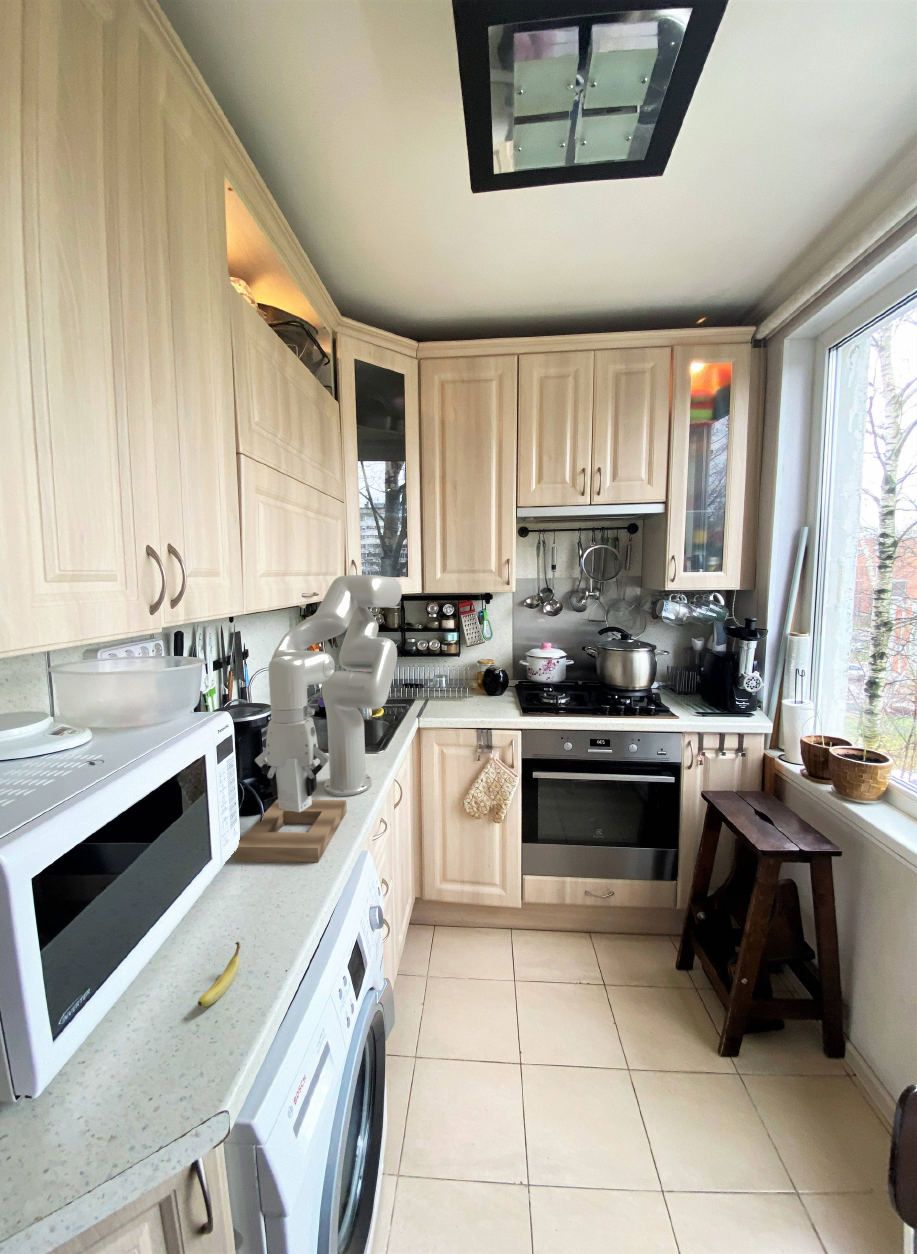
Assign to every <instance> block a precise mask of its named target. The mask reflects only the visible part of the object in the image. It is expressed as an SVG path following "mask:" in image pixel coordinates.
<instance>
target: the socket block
mask: <svg viewBox="0 0 917 1254" xmlns="http://www.w3.org/2000/svg"><path fill="white" fill-rule="evenodd" d="M347 812H348V810H347V800H346V799H312V805H311V806H309V807H308V808H306V809H305V810H303V811H301V812H295V811H291V810H286V809H282V808H279V803H278V799H276V800H275V801H273V803H272V804H271V805H270V807H269V808H268V809H267V810H266V811H265V812H264V813H263V814H264V816H263V815H262V816H263V820H262V822H260V818H259V819H258V820H257V821H256V822H255V823H254V824H253V825H252V826H251V828H250V829H249V830H248V831H247V832H246V833H245V834H244V835H243V836H242V838H241V839H240V840H239V841H240V843H239V845H238V848H237V850H236V852H235V851H234V860H235V862H282V863H285V862H289V863H290V862H291V863H298V862H299V863H319V862H320V861H321V859H322V857H323V855H324V854H325V851H326V850H327V849H328V846H329V844H330V842H331V840H332V839H333V837H334V836H335V833H336V832H337V830H338V828H339V826H340V825H341V823H342V821H343V819H344V818H345V816H346V814H347ZM298 823H299V824H298ZM301 823H302V824H304V825H305V824H306V825H307V824H308V823H309V824H308V825H310V823H311V825H312V826H311V827H310V829H309V831H308V832H301V831H299V832H298V831H297V832H292V831H291V832H289V831H288V832H287V831H286V832H285V831H284V832H283V831H280V830H281V828H282V827H283V826H284V824H298V825H300V824H301ZM302 824H301V825H302ZM279 831H280V832H279Z"/></svg>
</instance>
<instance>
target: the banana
mask: <svg viewBox="0 0 917 1254" xmlns="http://www.w3.org/2000/svg"><path fill="white" fill-rule="evenodd" d="M241 944H242V943H241V942H240V941H237V942H235V945H236V948H235V949H236V950H235V953H234V955H233V956H232V958H231V959H230V961H229V962H228V963H227V965H226V967H225V969H224V970H223V972H222V974H221V975H220V977H218V979H217V980H216V981H215V983H214V984H212V986H211V987H210V988H209V989H208V990H207V991H206V992H205V993H203V994H202V995H201V996H200V997H199V999H198V1000H197V1004H198V1006H200V1007H203V1008H204V1007H208V1006H211V1005H213V1004H214V1003H216V1001H218V1000H219V999H220V998H221V997H222V996H223V995H224V994H225V993H226V991H227V990H228V989H229V988H230V986H231V984H232V983H233V981H234V979H235V978H236V975H237V973H238V971H239V967H240V958H239V953H240V950H241V947H242V945H241Z"/></svg>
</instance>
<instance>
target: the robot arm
mask: <svg viewBox="0 0 917 1254" xmlns="http://www.w3.org/2000/svg"><path fill="white" fill-rule="evenodd" d="M402 591H403V590H402V586H401V584H400V582H399V580H397V578H395V577H391V576H382V575H376V574H351V575H350V574H346V575H340V576H337V577H336V578H335V579H333V581H332V583H331V585H330V586H329V587H328V590H327V591H326V594H324V597H323V599H322V601H321V602H320V604H319V606H318V608H317V609H316V612H315V613H314V614H313V615H311V616H309V617H307V618H306V619H304V620H302V621H300V623H297V625H295V626H294V627H292V628H291V629H290V630H288V632H287V633H285V634H284V636H283V637H282V638H281V640H280V641H279V643H278V645H277V646H276V649H275V650H274V652H273V655H272V657H271V659H270V661H269V664H268V683H269V698H270V699H269V700H270V702H269V703H270V717H271V719H270V720H269V721H268V724H267V731H266V739H265V742H266V743H265V744H266V745H265V750H263V751H262V753H260V754H259V755H258V756H257V757H255V759H254V762H255V763H256V764H257V765H258V766H259V767H260V769H261V770H262V771H263V772H264V773H265V774H266V775H267V778H268V779H269V783H270V791H272V793H271V794H272V797H276V796H278V792H277V781H276V769H277V767H285V764H286V761H287V759H288V758H297V759H298V764H299V767H303V768H304V769H305V771H306V773H307V775H308V778H307V779H306V785H307V796H311V797H312V795H313V794H314V793H315V792H316V790H317V788H318V785H317V784H318V783H317V781H318V780H317V775H318V774H319V773H320V772H321V770H322V769H323V768H324V766H326V764H327V763H328V762H329V763H328V766H329V767H328V768H329V778H327V779H326V781H325V782H324V784H323V789H324V792H325V793H327V794H329V795H332V796H336V797H337V796H338V797H345V796H346V797H349V796H354V795H358V794H361V793H364V792H366V791H367V790H369V789H370V787H371V786H373V785H372V784H373V782H372V781H373V779H372V777H371V776H370V775H368V774H366V771H367V770H366V769H367V768H366V744H365V739H366V738H365V721H364V717H363V715H362V713H361V711H360V710H359V709H365V710H366V709H367V710H370V709H371V710H379V709H381V708H383V706H384V705H385V704H386V702H387V700H388V698H389V695H390V691H391V687H392V682H393V679H394V675H395V671H396V666H397V660H398V649H397V645H396V644H395V642H394V641H393V640H392V639H390V638H388V637H381V636H379V637H378V632H379V623H378V621H377V619H376V617H375V616H374V615H373V614H372V612H371V611H370V609H369V608H394V607H396V606H397V605H398V604H399V603H400V601H401V598H402V596H403V595H402V593H403V592H402ZM343 633H345V636H344V638H343V642H342V644H341V648H340V650H339V654H338V662H339V665H340V667H342V668H343V669H345V670H338V671H336V670H335V668H336V667H335V666H336V665H335V660H334V659H333V657H332V656H331V655H330V654H329V653H327V652H324V651H321V650H320V651H319V650H306V649H309V648H310V647H311V646H314V645H316V644H319V643H322V642H324V641H327V640H330V639H333V638H336V637H338V636H340V635H341V634H343ZM315 685H316V686H317V685H321V695H322V699H323V704H324V707H325V713H326V722H327V744H328V746H327V747H328V755H327V754H326V753H324V751H322V750H321V749H320V748H319V745H318V736H317V731H316V726H315V723H314V719H313V717H311V716H314V715H315V711H316V710H315V708H311V707H310V705H309V703H308V687H309V686H315ZM317 759H318V760H319V763H318V764H317V765H316V764H315V760H317Z"/></svg>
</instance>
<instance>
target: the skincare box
mask: <svg viewBox="0 0 917 1254" xmlns="http://www.w3.org/2000/svg"><path fill="white" fill-rule="evenodd" d="M307 778H308V775H307V773H306V771H305V769H304V768H303V767H299V764H298V759H297V758H288V759H287V761H286V764H285V767H277V769H276V781H277V792H278V794H277V800H278V803H279V808H282V809H286V810H291V811H295V812H301V811H303V810H305V809H306V808H308V807H309V806H311V805H312V800H313V799H312V795H311V796H307V785H306V779H307Z"/></svg>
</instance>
